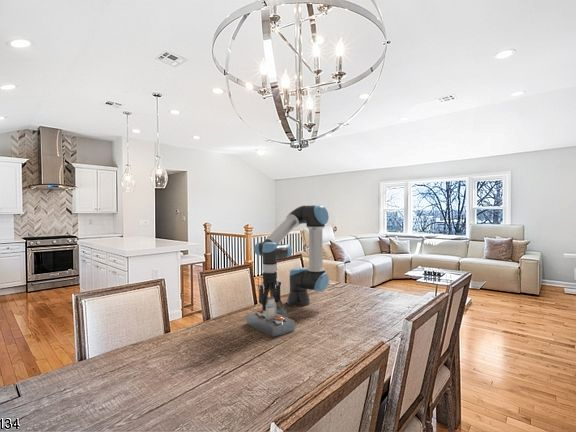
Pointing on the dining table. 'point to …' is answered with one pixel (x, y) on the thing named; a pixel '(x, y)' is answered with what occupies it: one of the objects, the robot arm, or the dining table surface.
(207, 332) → the dining table surface
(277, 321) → the plunger
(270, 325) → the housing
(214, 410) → the dining table surface
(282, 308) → the beverage carton
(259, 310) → the plunger
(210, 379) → the dining table surface
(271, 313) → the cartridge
